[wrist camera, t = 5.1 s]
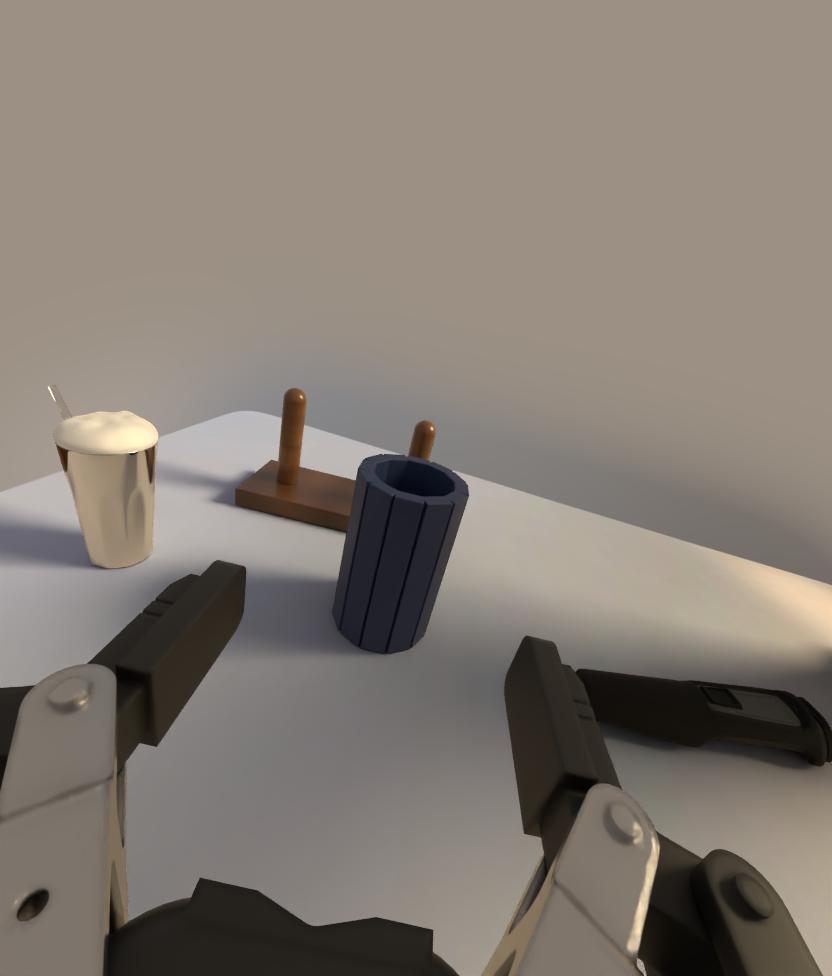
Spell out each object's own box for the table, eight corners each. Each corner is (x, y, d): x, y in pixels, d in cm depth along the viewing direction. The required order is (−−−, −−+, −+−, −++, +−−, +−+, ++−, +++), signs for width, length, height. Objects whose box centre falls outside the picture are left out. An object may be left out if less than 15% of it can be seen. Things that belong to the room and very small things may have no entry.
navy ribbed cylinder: (428, 595, 28) (466, 469, 24) (422, 663, 23) (471, 515, 18) (346, 575, 28) (371, 445, 24) (321, 639, 22) (347, 485, 18)
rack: (434, 514, 39) (461, 419, 35) (431, 552, 33) (464, 442, 29) (269, 474, 39) (277, 373, 35) (234, 505, 33) (238, 387, 29)
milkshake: (107, 523, 27) (90, 379, 23) (179, 544, 27) (175, 402, 23) (40, 559, 23) (4, 392, 19) (125, 584, 23) (108, 420, 19)
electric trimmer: (550, 679, 24) (569, 642, 23) (774, 711, 25) (804, 678, 24) (573, 742, 20) (597, 703, 19) (830, 774, 22) (869, 740, 21)
